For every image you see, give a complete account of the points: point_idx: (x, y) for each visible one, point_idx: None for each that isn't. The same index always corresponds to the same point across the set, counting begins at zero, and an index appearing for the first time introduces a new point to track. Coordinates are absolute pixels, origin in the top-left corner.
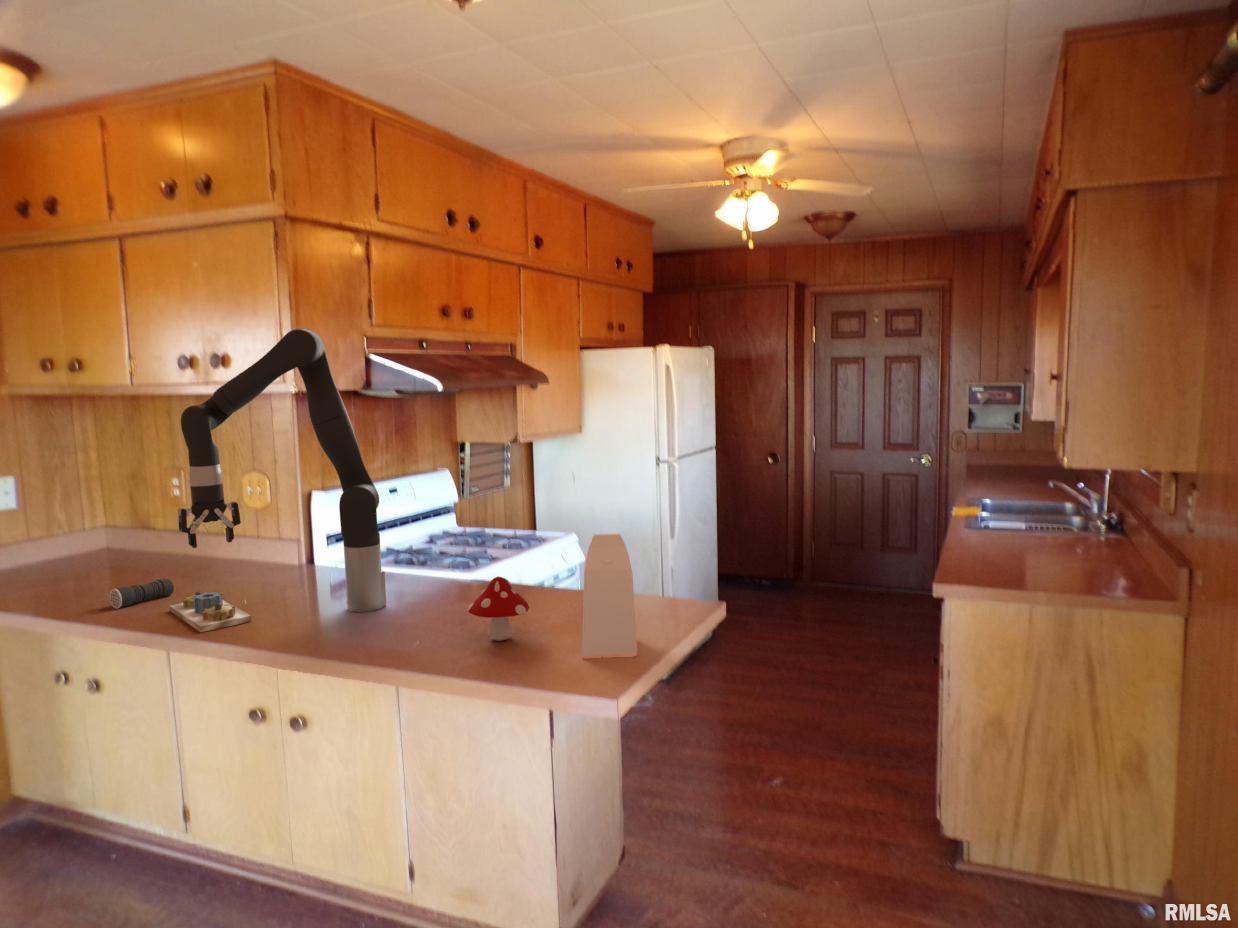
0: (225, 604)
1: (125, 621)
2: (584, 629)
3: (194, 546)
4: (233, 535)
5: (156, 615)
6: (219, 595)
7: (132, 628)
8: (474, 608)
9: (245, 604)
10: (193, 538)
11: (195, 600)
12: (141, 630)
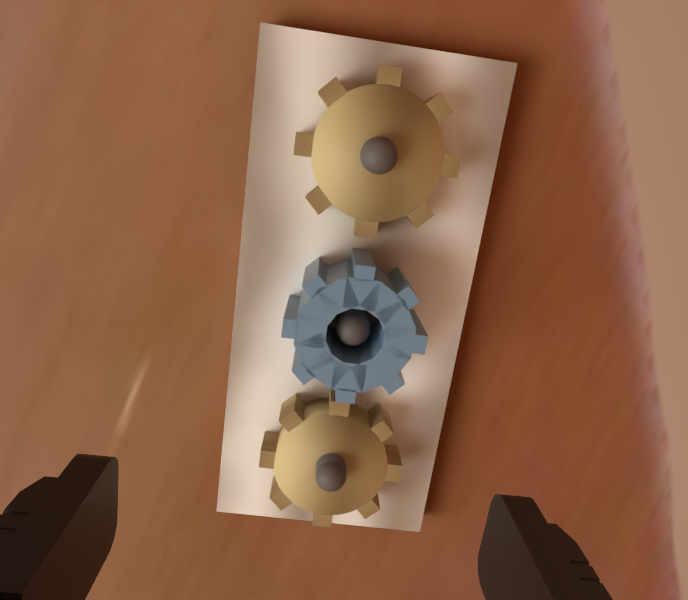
0: (251, 349)
1: (590, 507)
2: None
3: (529, 501)
4: (7, 513)
5: (479, 494)
6: (313, 283)
7: (629, 390)
8: None
9: (152, 354)
10: (578, 579)
11: (423, 331)
12: (627, 331)
